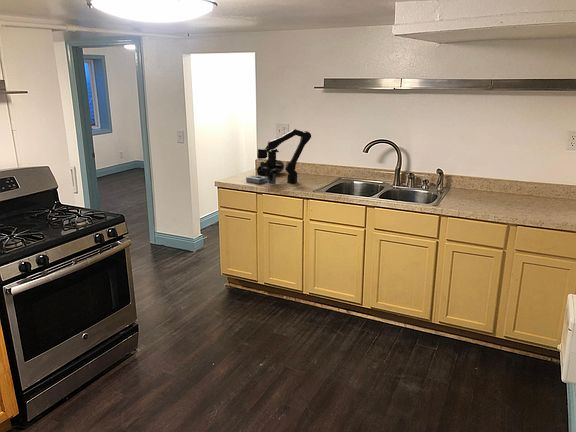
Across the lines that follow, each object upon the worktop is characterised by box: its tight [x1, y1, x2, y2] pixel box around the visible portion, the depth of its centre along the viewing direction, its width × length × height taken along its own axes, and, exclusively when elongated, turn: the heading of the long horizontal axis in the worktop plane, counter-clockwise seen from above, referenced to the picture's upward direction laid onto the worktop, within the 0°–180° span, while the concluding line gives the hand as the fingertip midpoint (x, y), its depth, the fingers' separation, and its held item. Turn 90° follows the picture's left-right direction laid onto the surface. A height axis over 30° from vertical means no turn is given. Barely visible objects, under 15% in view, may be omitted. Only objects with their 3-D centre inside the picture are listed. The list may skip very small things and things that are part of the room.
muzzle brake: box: [256, 159, 285, 177], centre depth 369 cm, size 10×28×10 cm, turn 152°
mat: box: [262, 181, 280, 186], centre depth 340 cm, size 9×9×1 cm
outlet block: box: [245, 174, 269, 185], centre depth 344 cm, size 12×10×4 cm
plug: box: [268, 173, 277, 184], centre depth 339 cm, size 4×3×7 cm, turn 54°
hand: (272, 180), depth 340 cm, fingers closed on plug, 3 cm apart
